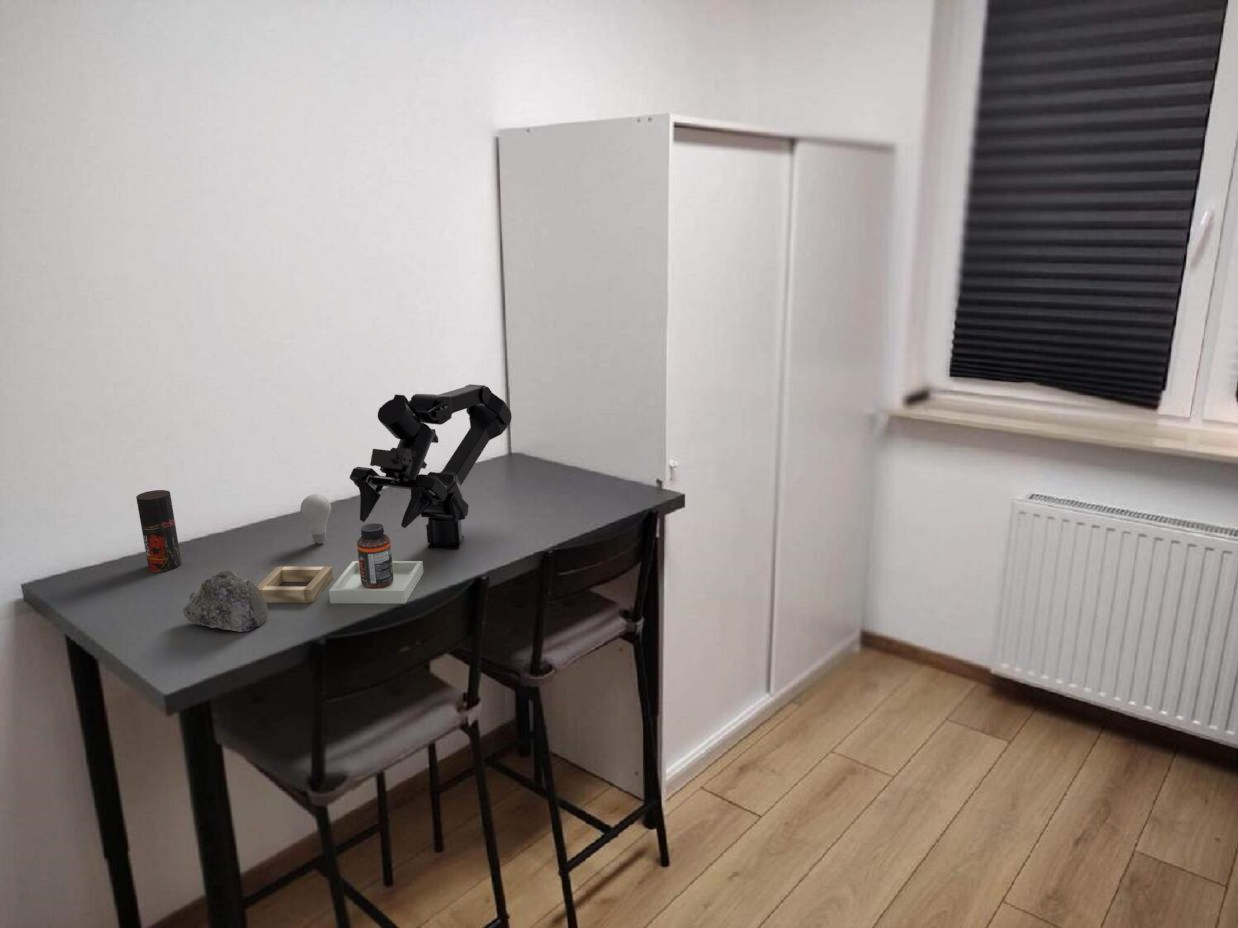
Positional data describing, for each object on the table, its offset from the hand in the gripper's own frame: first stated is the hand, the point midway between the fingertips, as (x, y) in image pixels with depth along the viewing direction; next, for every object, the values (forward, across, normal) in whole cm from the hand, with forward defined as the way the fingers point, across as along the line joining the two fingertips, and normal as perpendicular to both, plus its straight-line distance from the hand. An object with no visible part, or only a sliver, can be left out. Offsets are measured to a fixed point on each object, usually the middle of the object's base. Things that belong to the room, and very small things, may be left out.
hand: (382, 524), depth 166 cm
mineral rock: (+25, -16, -9) cm, 31 cm away
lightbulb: (0, -25, +16) cm, 30 cm away
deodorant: (+15, -47, +2) cm, 49 cm away
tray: (+10, 0, +6) cm, 12 cm away
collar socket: (+15, -14, +2) cm, 20 cm away
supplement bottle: (+10, 0, +6) cm, 11 cm away
